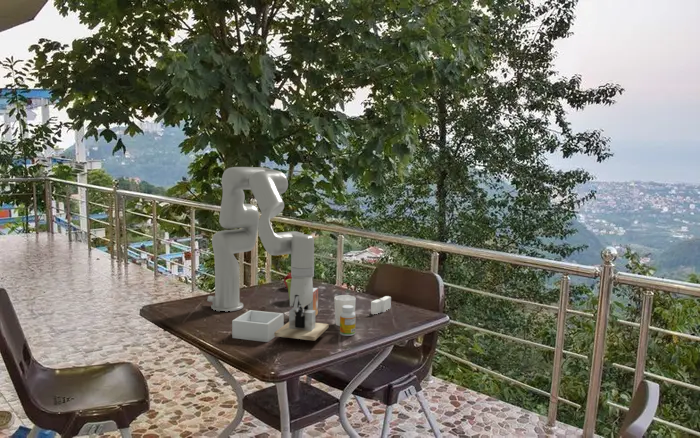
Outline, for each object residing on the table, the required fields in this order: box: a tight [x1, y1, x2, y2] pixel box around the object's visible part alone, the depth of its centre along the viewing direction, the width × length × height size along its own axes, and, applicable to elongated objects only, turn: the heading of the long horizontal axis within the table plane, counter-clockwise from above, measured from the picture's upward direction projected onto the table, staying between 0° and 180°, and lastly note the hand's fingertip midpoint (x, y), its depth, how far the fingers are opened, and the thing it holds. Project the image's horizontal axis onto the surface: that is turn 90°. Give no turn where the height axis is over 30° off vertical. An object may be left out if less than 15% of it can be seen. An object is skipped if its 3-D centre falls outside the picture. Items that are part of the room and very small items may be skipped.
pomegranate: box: [283, 272, 292, 289], centre depth 241 cm, size 10×10×9 cm
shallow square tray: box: [231, 309, 285, 343], centre depth 175 cm, size 13×13×6 cm
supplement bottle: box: [339, 305, 357, 337], centre depth 177 cm, size 5×5×10 cm
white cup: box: [333, 294, 357, 327], centre depth 188 cm, size 8×8×10 cm
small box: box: [299, 287, 319, 317], centre depth 197 cm, size 8×6×10 cm
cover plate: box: [274, 308, 330, 341], centre depth 171 cm, size 14×14×7 cm
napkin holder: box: [370, 295, 392, 315], centre depth 206 cm, size 15×11×6 cm
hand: (302, 325), depth 171 cm, fingers closed on cover plate, 3 cm apart
